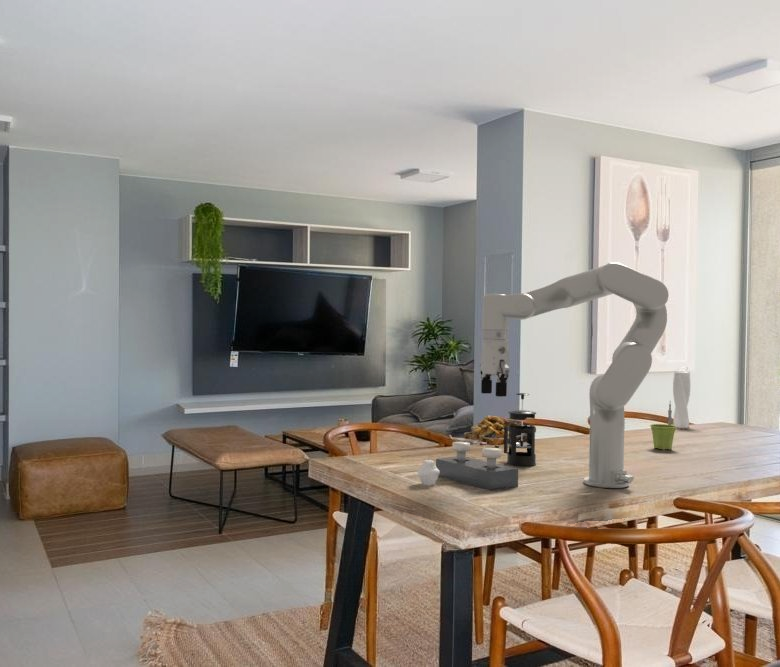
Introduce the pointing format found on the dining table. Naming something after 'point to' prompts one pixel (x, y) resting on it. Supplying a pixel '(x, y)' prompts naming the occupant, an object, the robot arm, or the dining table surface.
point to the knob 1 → (461, 450)
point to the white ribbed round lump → (428, 473)
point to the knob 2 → (491, 456)
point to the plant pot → (663, 435)
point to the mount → (478, 473)
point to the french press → (521, 457)
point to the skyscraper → (680, 399)
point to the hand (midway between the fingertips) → (493, 394)
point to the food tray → (492, 431)
